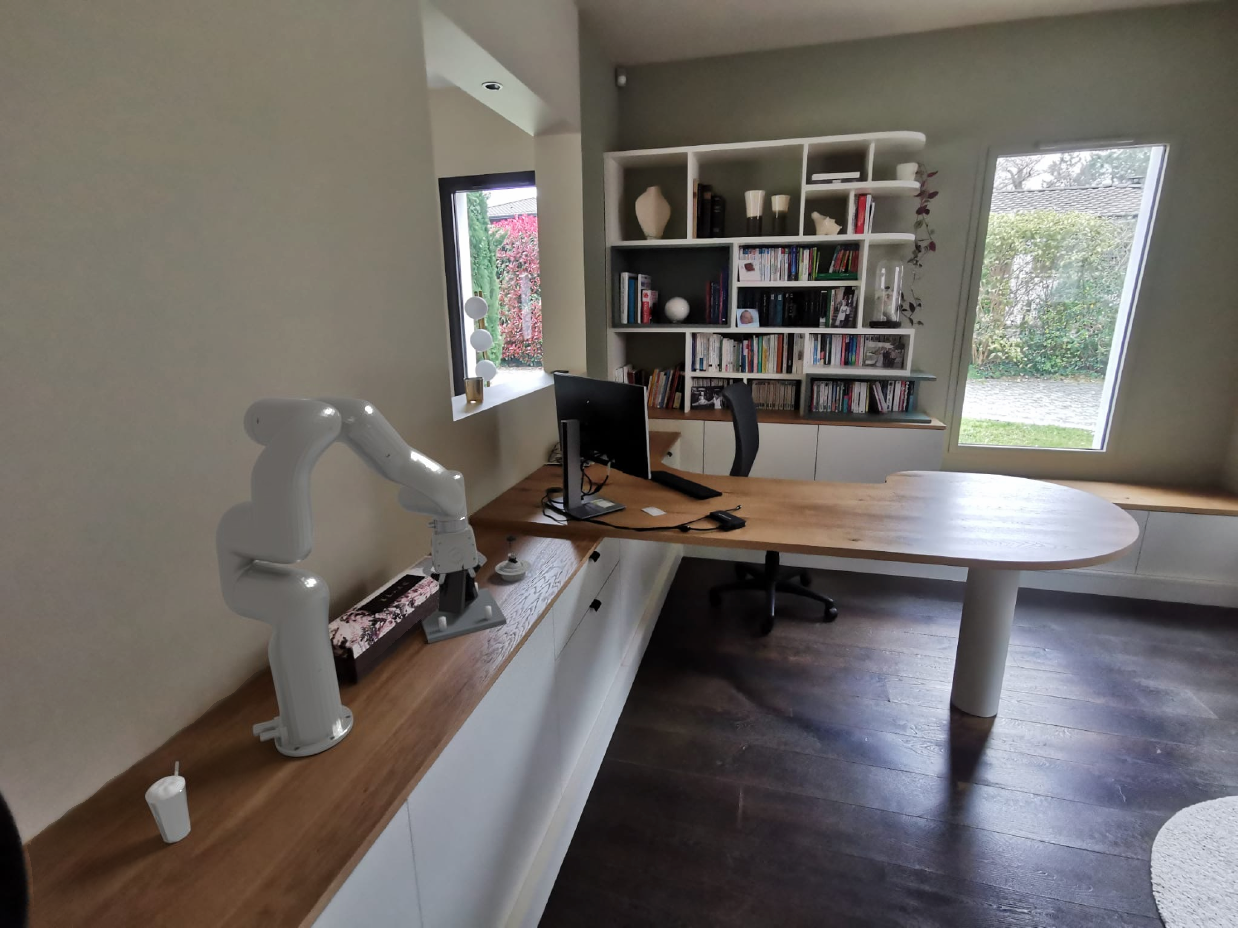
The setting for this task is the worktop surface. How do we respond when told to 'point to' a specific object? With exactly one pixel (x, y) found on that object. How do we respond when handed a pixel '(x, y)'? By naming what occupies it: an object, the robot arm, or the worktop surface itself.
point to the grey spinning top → (513, 566)
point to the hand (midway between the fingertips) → (457, 592)
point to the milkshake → (170, 807)
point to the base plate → (465, 618)
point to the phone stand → (457, 593)
